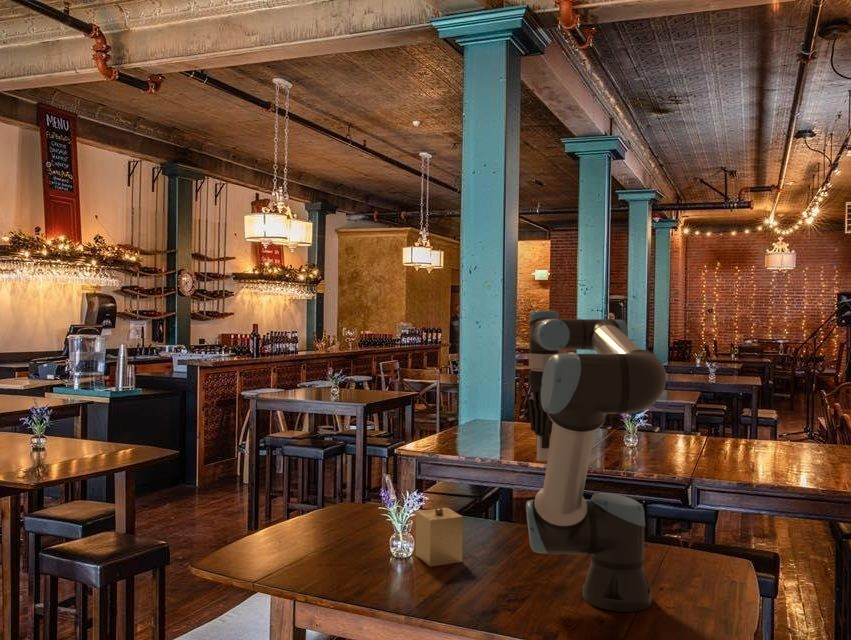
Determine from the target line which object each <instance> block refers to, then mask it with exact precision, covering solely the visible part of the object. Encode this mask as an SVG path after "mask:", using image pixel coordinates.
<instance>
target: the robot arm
mask: <svg viewBox="0 0 851 640" xmlns="http://www.w3.org/2000/svg"><path fill="white" fill-rule="evenodd" d="M559 315H560V314H559V312H558V311H557V310H531V312H530V313H529V321H528V325H529V352H528V368H529V369H530V370H529V372H528V384H529V385H531V386H532V388H531V392H530V393H527V394H526V399H527V403H528V404H527V405H528V411H529V412H528V413H529V421H530V422H529V423H530V430H531V431H532V432H534V433H535V436H536V440H535V441H536V461H538V462H545V461H546V467H545V474H544V482H543V488H541V489H540V490H538V492H537V493H536V494H535V498H534V499H530V500H527V501H526V503H525V511H526V521H527V522H526V523H527V529H528V537H529V538H528V539H529V545H530V549H531V551H532V552H533V553H535V554H536V553H537V554H547V555H591V556H590V565H589V568H588V572H587V575H586V577H585V581H584V583H583V585H582V597H583V599H584V601H585V602H587V603H588V604H590V606H591V605H592V606H593V607H595V608H598V609H603V610H606V611H610V612H611V611H612V612H616V613H617V612H621V613H634V612H640V611H644V610H646V609H648V608H650V606H651V605H652V590H651V588H650V584H649V580H648V577H647V574H646V570H645V527H646V522H645V521H646V520H645V510H644V506H643V504H641V503H640V502H639V501H637V500H636V499H634V498H631V497H628V496H624V495H621V494H616V493H609V492H595V493H593V494H592V496H591V498H590V499H591V500H586V499H585V497H584V490H585V485H586V480H587V475H588V470H589V464H590V461H591V459H590V458H591V454H592V448H593V444H594V438H595V435H596V430H599V429H600V428H601V427H602V426H603V425H604V423H605V421H606V418H607V415H608V414H609V415H611V414H613V415H616V414H617V415H618V414H621V415H622V414H623V415H624V414H635V413H638V412H641V411H643V410H646V409H648V408H649V407H650V406H652V405H653V404H655V403H656V402H657V401H658V399H660V398H661V396H662V394H663V393H664V390H665V388H666V383H667V372H666V368H665V366H664V365H663V363H662V361H661V360H660V359H659V358H658V357H657V356H656V355H655V354H654V353H652V352H651V351H648V350H646V349H641V348H640V347H639V346H638V345H637V344H636V343H634V341H633V340H631V339H630V338H629V329H628V325H627V323H626V321H624V319H623V320H622V319H614V318H608V319H607V318H605V319H602V318H597V319H595V318H594V319H593V318H592V319H591V318H590V319H589V318H588V319H585V318H583V319H582V318H559V317H560V316H559ZM559 350H566V351H567V350H570V352H567V353H559ZM571 350H573V351H574V350H575V351H577V350H586V351H587V350H589V351H590V350H592V351H595V352H596V353H577V352H573V351H571Z"/></svg>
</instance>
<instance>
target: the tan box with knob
mask: <svg viewBox="0 0 851 640" xmlns="http://www.w3.org/2000/svg"><path fill="white" fill-rule="evenodd" d="M463 520H464V519H463V515H461V514H459V513H457V512H456V511H454V510H452V509H451V508H449V507H437V508H432V509H422V510H416V511H415V557H417V558H418V559H420V560H421V561H422V562H423V563H425V564H426V565H427V566H428V567H437V566H443V565H448V564H449V565H450V564H456V563H463V537H464V536H463V528H464V526H463V524H464V523H463V522H464V521H463Z"/></svg>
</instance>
